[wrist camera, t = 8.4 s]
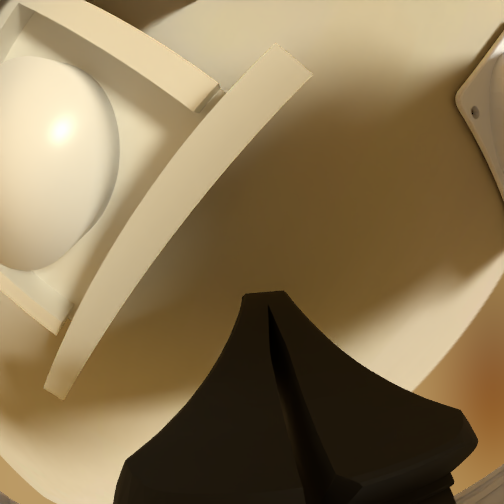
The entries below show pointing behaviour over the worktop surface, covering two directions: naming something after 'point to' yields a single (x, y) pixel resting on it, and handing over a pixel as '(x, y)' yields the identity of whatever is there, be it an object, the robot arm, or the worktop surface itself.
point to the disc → (52, 159)
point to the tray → (133, 158)
